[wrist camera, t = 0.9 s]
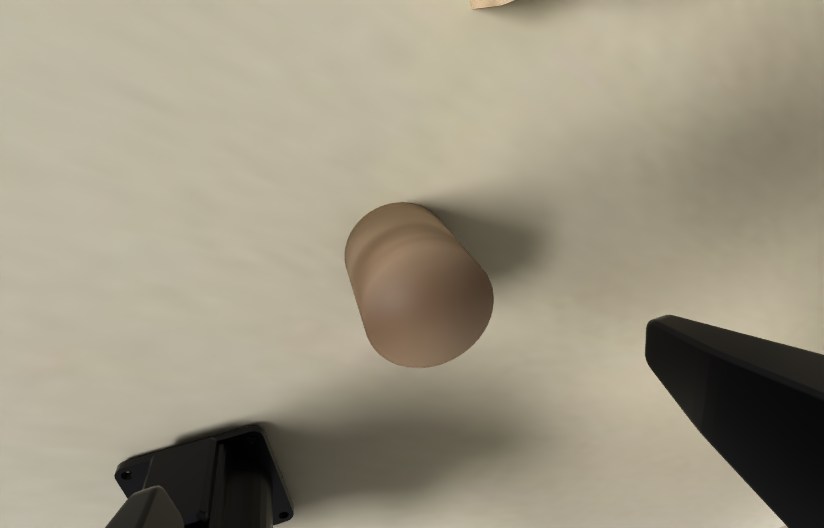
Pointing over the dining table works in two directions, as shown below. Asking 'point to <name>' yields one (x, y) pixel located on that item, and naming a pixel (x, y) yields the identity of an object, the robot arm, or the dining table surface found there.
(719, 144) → the dining table surface
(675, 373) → the robot arm
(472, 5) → the base block
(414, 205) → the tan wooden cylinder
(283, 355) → the dining table surface
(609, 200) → the dining table surface
